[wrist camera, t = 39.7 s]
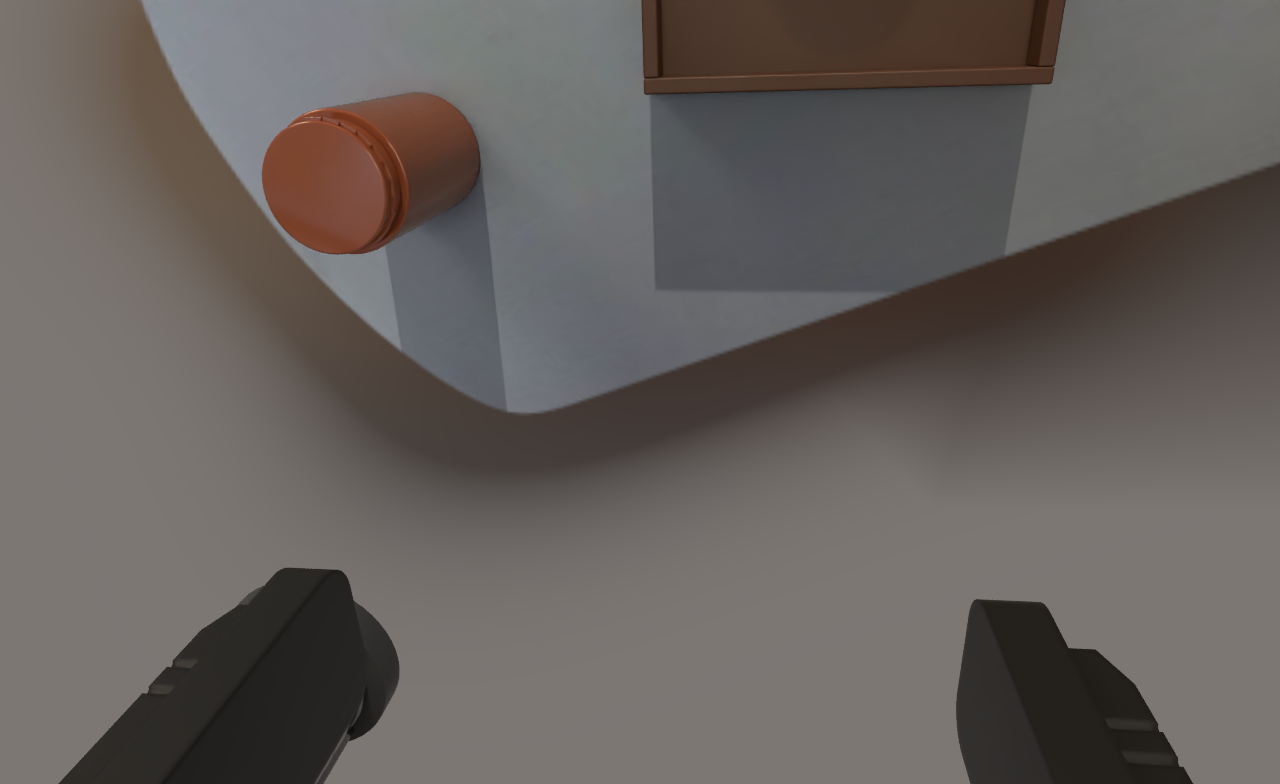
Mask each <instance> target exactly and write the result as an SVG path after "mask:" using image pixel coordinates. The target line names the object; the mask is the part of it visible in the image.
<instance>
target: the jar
mask: <svg viewBox="0 0 1280 784" xmlns="http://www.w3.org/2000/svg"><path fill="white" fill-rule="evenodd" d="M479 163H480V158H479V149H478V144H477V140H476V137H475V135H474V132H473V130H472V128H471V127H470V125H469V123H468V122H467V120H466V119H465V117H464V116H463V115H462V114H461V113H460V112H459V111H458V110H457V109H456V108H455V107H454V106H453V105H451V104H450V103H448V102H447V101H445V100H443V99H441V98H439V97H437V96H434V95H431V94H427V93H417V92H415V93H406V94H400V95H395V96H389V97H383V98H378V99H372V100H366V101H361V102H355V103H349V104H344V105H338V106H332V107H327V108H321V109H316V110H313V111H309V112H307V113H305V114H303V115H301V116H299V117H298V118H296V119H295V120H294V121H293V122H292V123H291V124H289V125H288V127H287V128H286V129H284V130H282V131H281V132H280V133H279V134H278V135H277V136H276V137H275V138H274V140H273V141H272V142H271V144H270V146H269V148H268V149H267V152H266V154H265V157H264V162H263V167H262V183H263V189H264V194H265V197H266V200H267V203H268V205H269V208H270V209H271V211H272V213H273V215H274V217H275V218H276V220H277V221H278V223H279V224H280V225H281V226H282V227H283V229H284V230H285V231H286V232H287V233H288V234H289V235H290V236H292V237H293V238H294V239H295V240H297V241H298V242H300V243H301V244H303V245H305V246H306V247H309V248H311V249H313V250H316V251H319V252H322V253H327V254H337V255H338V254H363V253H368V252H372V251H375V250H377V249H379V248H381V247H383V246H385V245H386V244H388V243H390V242H392V241H394V240H395V239H397V238H399V237H401V236H402V235H404V234H406V233H408V232H409V231H411V230H413V229H415V228H416V227H418V226H420V225H422V224H423V223H425V222H427V221H429V220H431V219H432V218H434V217H436V216H438V215H439V214H441V213H443V212H445V211H446V210H448V209H450V208H452V207H453V206H455V205H457V204H458V203H460V202H461V201H462V200H463V199H464V198H465V197H466V196H467V195H468V194H469V193H470V191H471V190H472V188H473V186H474V184H475V182H476V179H477V176H478V171H479Z"/></svg>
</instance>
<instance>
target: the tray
mask: <svg viewBox="0 0 1280 784" xmlns="http://www.w3.org/2000/svg"><path fill="white" fill-rule="evenodd" d="M1065 1H1066V0H642V33H643V67H644V78H645V79H644V93H645V94H646V95H650V94H688V93H726V92H764V91H803V90H841V89H879V88H917V87H956V86H994V85H1032V84H1051V83H1052V80H1053V74H1054V67H1053V66H1054V65H1055V62H1056V55H1057V49H1058V43H1059V37H1060V31H1061V25H1062V19H1063V13H1064V7H1065Z"/></svg>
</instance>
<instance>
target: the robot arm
mask: <svg viewBox="0 0 1280 784" xmlns="http://www.w3.org/2000/svg"><path fill="white" fill-rule="evenodd" d="M367 676H368V662H367V656H366V652H365V647H364V643H363V639H362V634H361V630H360V626H359V622H358V617H357V613H356V609H355V605H354V600H353V596H352V592H351V588H350V584H349V581H348V578H347V576H346V575H345V574H344V573H343V572H342V571H340V570H328V569H327V570H326V569H305V568H284V569H281V570H280V571H278V572H277V573H276V574H275V575H274V576H273V577H272V578H271V579H270V580H269V581H268V582H267V583H266V585H265V586H264V587H263V588H262V589H261V590H260V591H259V592H258V594H257V595H256V596H255V597H254V598H253V599H252V600H251V601H250V603H249V604H248V605H241V604H240V605H238V606H237V607H235V608H234V609H232V610H231V611H229V612H228V613H226V614H225V615H223V616H222V617H220V618H219V619H217V620H216V621H214V622H213V623H211V624H210V625H208V626H207V627H205V628H204V629H202V630H201V631H200V632H199V633H198V634H197V635H196V636H195V637H194V638H193V639H192V641H191V642H190V643H189V644H188V645H187V646H186V647H185V648H184V649H183V650H182V652H180V654H179V655H178V656H177V657H176V658H175V659H174V660H173V665H172V667H166V669H165V670H164V671H163V672H162V673H161V674H160V675H159V676H158V677H157V678H156V679H155V681H153V683H152V684H151V685H150V686H149V691H148V693H147V694H143V693H142V695H140V697H139V698H138V699H137V700H136V701H135V702H134V703H133V704H132V705H131V706H130V707H129V708H128V709H127V711H126V712H125V713H124V714H123V715H122V716H121V717H120V718H119V719H118V720H117V721H116V722H115V723H114V725H113V726H112V727H111V728H110V729H109V730H108V731H107V732H106V733H105V734H104V735H103V737H102V738H101V739H100V740H99V741H98V742H97V743H96V744H95V745H94V746H93V747H92V749H91V750H90V751H89V752H88V753H87V754H86V755H85V756H84V757H83V758H82V759H81V760H80V761H79V762H78V764H76V766H75V767H74V768H73V769H72V770H71V771H70V772H69V773H68V774H67V775H66V776H65V777H64V778H63V780H62V781H61V782H60V783H59V784H324V782H325V780H326V779H327V777H328V775H329V774H330V772H331V770H332V768H333V767H334V765H335V763H336V762H337V760H338V758H339V756H340V755H341V753H342V751H343V750H344V748H345V746H346V744H347V743H348V741H349V739H350V738H351V736H352V734H353V732H354V727H353V724H354V723H355V722H356V720H357V718H358V717H359V715H360V713H361V711H362V710H363V707H364V705H365V701H366V684H367ZM956 717H957V730H958V737H959V743H960V748H961V752H962V756H963V759H964V763H965V766H966V770H967V773H968V777H969V780H970V783H971V784H1193V783H1192V781H1191V779H1190V778H1189V776H1188V774H1187V772H1186V771H1185V769H1184V767H1179V764H1178V757H1177V756H1176V754H1175V752H1174V750H1173V749H1172V747H1171V745H1170V743H1169V742H1168V740H1167V738H1166V737H1165V735H1164V733H1163V732H1159V730H1158V723H1157V721H1156V720H1155V718H1154V716H1153V715H1152V713H1151V711H1150V709H1149V708H1148V706H1147V704H1146V703H1145V701H1144V699H1143V698H1142V696H1141V694H1140V692H1139V691H1138V689H1137V688H1136V686H1135V684H1134V683H1133V682H1132V681H1130V680H1129V679H1128V678H1127V677H1126V676H1125V675H1124V674H1122V673H1121V672H1120V671H1119V670H1118V669H1117V668H1116V667H1115V666H1113V665H1112V664H1111V663H1110V662H1109V661H1108V660H1107V659H1106V658H1104V657H1103V656H1102V655H1101V654H1100V653H1099V652H1098V651H1096V650H1093V649H1073V648H1068V646H1067V644H1066V642H1065V641H1064V639H1063V637H1062V635H1061V633H1060V631H1059V629H1058V627H1057V625H1056V623H1055V621H1054V619H1053V617H1052V615H1051V613H1050V612H1049V610H1048V608H1047V607H1046V606H1045V605H1044V604H1043V603H1041V602H1025V601H1002V600H978V599H976V600H974V601H973V603H972V605H971V608H970V612H969V618H968V624H967V631H966V638H965V644H964V651H963V658H962V664H961V671H960V678H959V685H958V691H957V701H956Z"/></svg>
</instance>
